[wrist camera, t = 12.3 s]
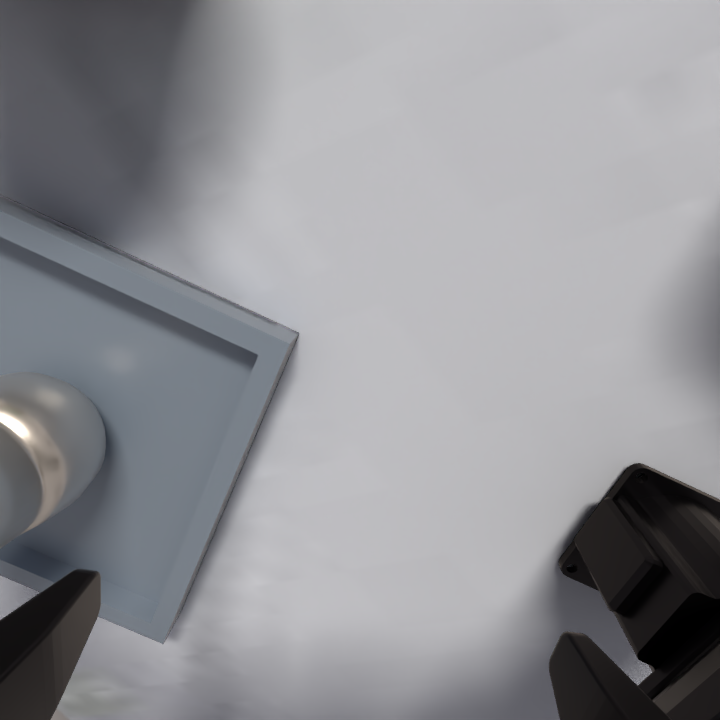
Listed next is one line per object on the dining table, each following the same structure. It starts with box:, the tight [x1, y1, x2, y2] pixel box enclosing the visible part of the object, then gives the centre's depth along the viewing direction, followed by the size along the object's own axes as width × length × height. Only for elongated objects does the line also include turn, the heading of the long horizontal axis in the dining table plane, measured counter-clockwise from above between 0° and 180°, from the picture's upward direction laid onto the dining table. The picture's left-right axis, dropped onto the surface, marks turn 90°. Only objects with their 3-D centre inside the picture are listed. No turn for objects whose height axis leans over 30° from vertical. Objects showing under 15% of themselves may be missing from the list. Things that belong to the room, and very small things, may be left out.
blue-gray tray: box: [0, 195, 299, 644], centre depth 22 cm, size 18×18×2 cm
